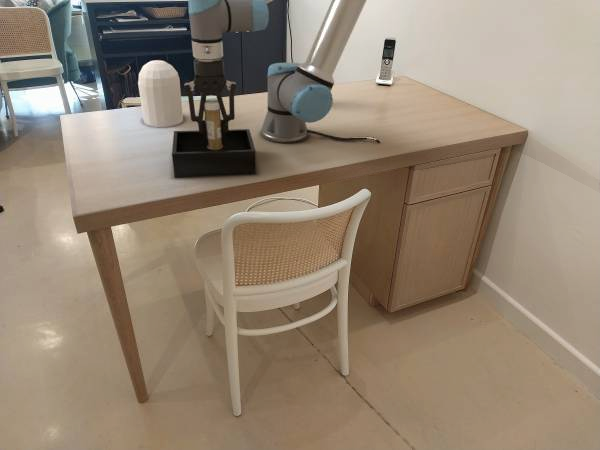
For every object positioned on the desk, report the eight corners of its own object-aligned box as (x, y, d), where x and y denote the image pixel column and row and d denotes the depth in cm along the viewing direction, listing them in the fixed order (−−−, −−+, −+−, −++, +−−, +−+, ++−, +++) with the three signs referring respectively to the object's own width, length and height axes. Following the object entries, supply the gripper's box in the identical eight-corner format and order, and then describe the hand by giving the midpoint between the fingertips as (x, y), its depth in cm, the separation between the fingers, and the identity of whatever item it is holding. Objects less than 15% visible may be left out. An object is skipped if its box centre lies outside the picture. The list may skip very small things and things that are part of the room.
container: (180, 112, 164) (175, 55, 153) (186, 125, 153) (180, 65, 142) (142, 114, 159) (133, 56, 148) (145, 128, 149) (136, 66, 138)
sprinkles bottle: (225, 148, 127) (223, 102, 120) (210, 151, 125) (207, 104, 117) (219, 142, 130) (215, 97, 123) (204, 146, 128) (200, 99, 121)
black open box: (249, 150, 139) (249, 129, 135) (255, 174, 126) (255, 151, 122) (176, 153, 135) (173, 130, 131) (174, 177, 122) (171, 154, 118)
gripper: (172, 62, 109) (183, 150, 122) (244, 61, 112) (246, 147, 126) (173, 54, 115) (183, 139, 128) (241, 54, 119) (244, 137, 132)
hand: (214, 143), depth 127 cm, fingers closed on sprinkles bottle, 4 cm apart
